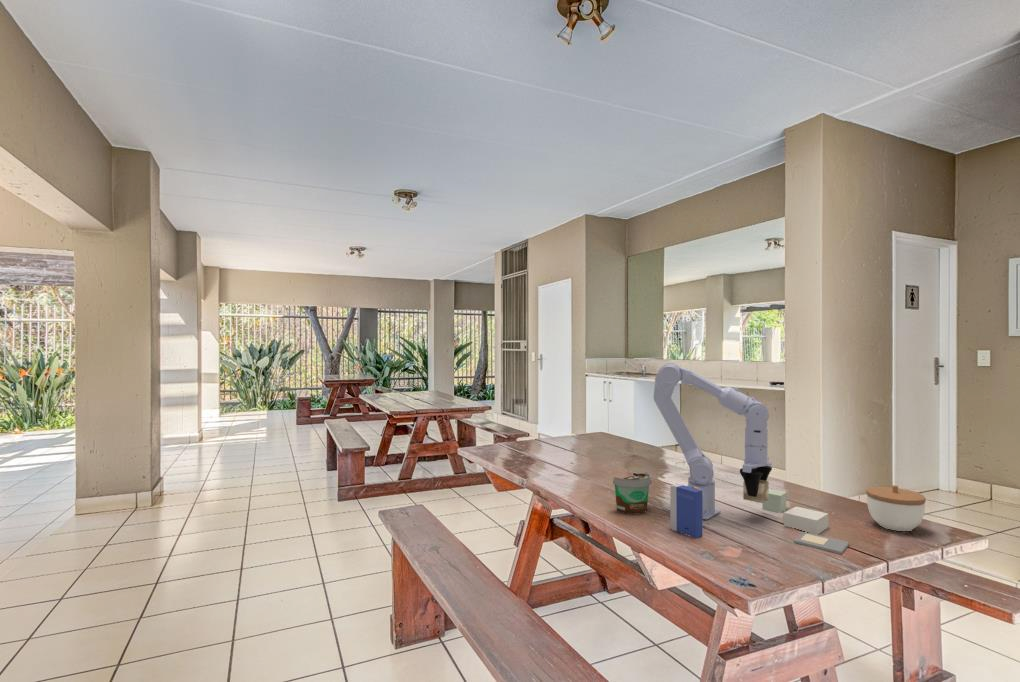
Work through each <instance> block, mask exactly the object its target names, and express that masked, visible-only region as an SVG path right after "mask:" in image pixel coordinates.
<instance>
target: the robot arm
mask: <svg viewBox="0 0 1020 682" xmlns="http://www.w3.org/2000/svg"><path fill="white" fill-rule="evenodd" d="M679 382H680V385H684V386H685V385H686V386H687V385H688V386H689V385H691V386H693V387H695V388H697V389H700V390H701V391H704V392H706V393H707V394H709V395H711V396H713V397H716V398H717V401H718V404H719V405H721V406H722V407H724V408H725V409H728V410H729V411H730V412H733V413H736V414H737V415H739V416H744V417H745V428H744V460H743V464H742V468H740V469H739V474H740V475H741V477H742V479H743V481H744V482H745V485H746V489H747V493H748V496H753V497H756V496H757V493H758V486H759V481H760V480H764V481H768V477H769V476H770V473H771V472H772V469H773V467H772V466H773V463H772V462H771V461H769V457H768V440H769V439H768V438H769V437H768V436H769V435H768V432H769V431H768V421H769V418H770V414H769V410H768V408H767V407H766V406H765V405H764V404H763V403H762V402H761V401H759V400H756V398H755V397H754V396H751V397H750V396H748V395H746V394H745V393H743V392H740V391H739V389H740V388H737V387H736V386H734V387H731V386H726V387H721V386H720V385H718V384H716V383H714V382H712V381H710V379H707V378H706V377H705V376H702V375H701V374H699V373H697V372H695V371H693V370H691V369H689V368H686V367H683V366H679V365H678V364H676V363H675V362H667V363H664V364H663V365H662V366H661V367H659V370H658V371H657V373H656V375H655V379H654V389H653V401H654V402H655V404H656V406H657V408H658V410H659V411H660V414H661V415H662V417H663V419H664V422H665V423H666V424H667V427H668V428H669V430H670V432H671V433H672V435H673V437H674V439H675V441H676V442H677V444H678V447H679V449H680V450H681V452H682V453H683V456H684V458H685V461H686V464H687V465H688V467H689V475H690V476H689V477H687V478H688V479H687V480H688V481H687V483H688V484H687V486H688V487H692V488H693V487H696V488H699V490H702V520H706V521H707V520H709V519H711V518H713V517H715V516H716V515H718V514H719V513H721V510H720V509H718V508H716V481H715V479H714V475H715V474H714V473H715V472H714V466H713V463H712V460H711V459H710V458H709V457H708V456H707V455H705V454H704V452H703V451H702V449H701V448H700V447H699V445H698V443H697V442H696V440H695V438H694V435H692V433H691V431H690V429H689V427H688V426H687V423H686V422H685V420H684V418H683V416H682V414H681V413H680V411H679V409H678V407H677V406H676V404H675V402H674V401H673V399H672V395H673V393H674V390H675V387H676V386H677V385H678V383H679Z"/></svg>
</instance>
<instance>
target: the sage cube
mask: <svg viewBox="0 0 1020 682" xmlns="http://www.w3.org/2000/svg"><path fill="white" fill-rule="evenodd" d="M785 509H787V492H786V491H782V490H776V489H773V488H772V489H771V488H769V499H768V500H767V501H765V502H764V503H762V510H764V511H769V512H770V511H771V512H775V513H778V512H782V511H783V512H784V511H786V510H785ZM783 512H782V513H783Z"/></svg>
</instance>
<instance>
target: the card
mask: <svg viewBox="0 0 1020 682" xmlns="http://www.w3.org/2000/svg"><path fill="white" fill-rule="evenodd" d="M794 542H795V543H794ZM793 543H794V544H797V543H798V545H801V546H805V547H810V548H814V549H818V550H822V551H826V552H830V553H833V554H834V553H835V554H839V555H842V554H843V553H844V552H845V550H846V549H847V548H848V547H849V546H850V541H845V540H841V539H838V538H833V537H829V536H824V535H821V534H818V535H816V534H812V533H807V532H803V531H802V533H800V534H799V535H798V536H797V537H796V538H795V539H794V540H793Z"/></svg>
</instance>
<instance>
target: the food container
mask: <svg viewBox="0 0 1020 682" xmlns="http://www.w3.org/2000/svg"><path fill="white" fill-rule="evenodd" d="M652 482H653V481H652V478H651V475H650V474H649V473H647V472H645V474H644V475H640V476H632V475H631V476H626V477H624V478H620V477H616V476H614V477H613V480H612V485H614V490H615V491H614V492H615V502H616V503H615V504H616V505H615V506H616V511H618V512H619V511H620V512H619V513H623V512H624V513H623V514H628V513H630V515H637V514H636V513H641V514H644V513H646V512H647V511H648V503H649V501H648V500H649V491H650V490H649V489H650V486H651V485H652ZM645 511H646V512H645ZM643 512H644V513H643Z"/></svg>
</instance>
